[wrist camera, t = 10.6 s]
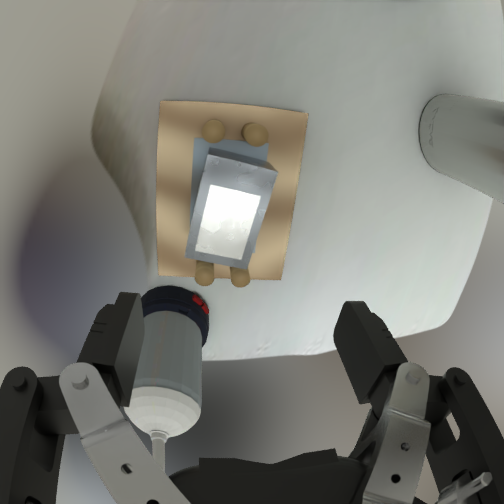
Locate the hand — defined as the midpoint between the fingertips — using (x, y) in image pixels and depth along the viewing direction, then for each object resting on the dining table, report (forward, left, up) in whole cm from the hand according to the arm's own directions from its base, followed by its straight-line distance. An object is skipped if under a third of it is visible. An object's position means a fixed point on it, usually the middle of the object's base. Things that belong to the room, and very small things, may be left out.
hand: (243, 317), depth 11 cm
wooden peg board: (0, 0, -17) cm, 17 cm away
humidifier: (+5, +14, -17) cm, 23 cm away
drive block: (0, 0, -15) cm, 15 cm away
